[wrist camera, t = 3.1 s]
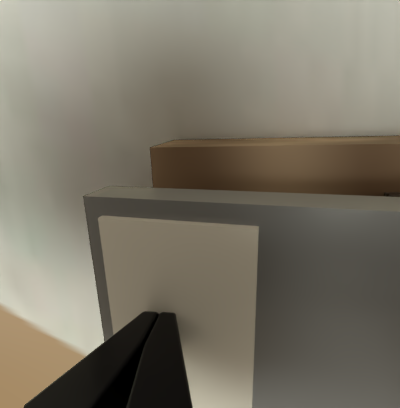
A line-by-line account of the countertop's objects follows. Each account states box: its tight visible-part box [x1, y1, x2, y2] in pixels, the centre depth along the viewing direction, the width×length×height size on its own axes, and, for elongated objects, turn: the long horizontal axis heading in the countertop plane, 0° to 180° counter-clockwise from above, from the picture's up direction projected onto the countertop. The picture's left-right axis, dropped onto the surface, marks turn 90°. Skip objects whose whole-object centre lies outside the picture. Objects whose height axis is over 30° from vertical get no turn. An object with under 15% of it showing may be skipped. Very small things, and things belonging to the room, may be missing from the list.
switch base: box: [150, 136, 400, 197], centre depth 11 cm, size 16×9×6 cm, turn 92°
